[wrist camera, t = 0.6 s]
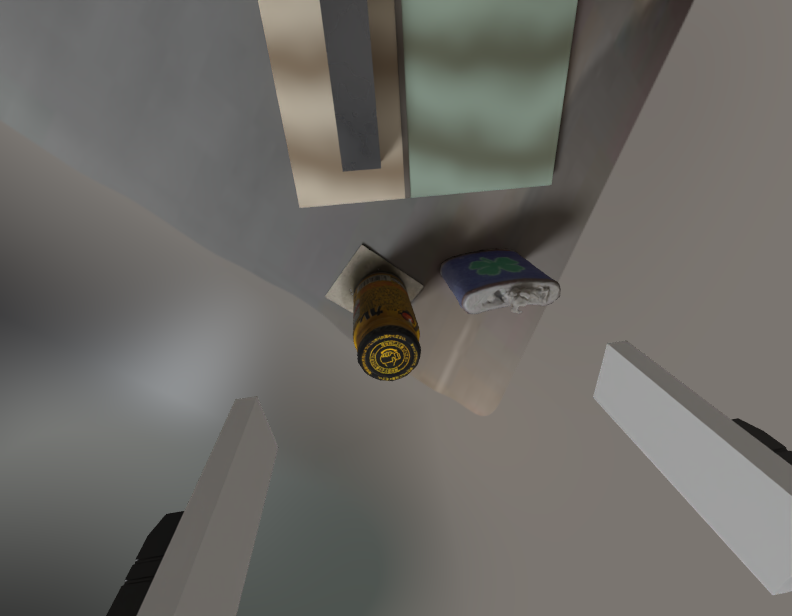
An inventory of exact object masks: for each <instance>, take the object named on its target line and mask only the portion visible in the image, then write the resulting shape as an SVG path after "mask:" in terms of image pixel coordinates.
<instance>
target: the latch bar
mask: <svg viewBox="0 0 792 616" xmlns="http://www.w3.org/2000/svg"><path fill="white" fill-rule="evenodd" d="M320 8H321V15H322V23H323V30H324V37H325V45H326V52H327V59H328V67H329V74H330V82H331V89H332V96H333V104H334V111H335V119H336V126H337V133H338V141H339V148H340V155H341V163H342V170H343V172H346V171H357V170H369V169H381V159H380V147H379V135H378V123H377V111H376V99H375V87H374V75H373V63H372V52H371V40H370V28H369V16H368V4H367V0H320Z"/></svg>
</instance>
